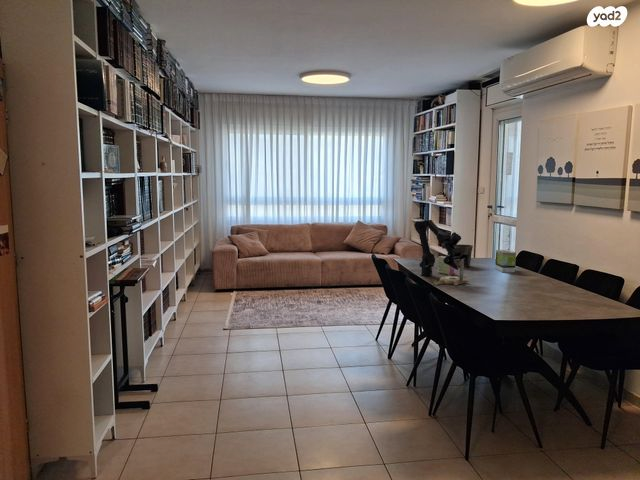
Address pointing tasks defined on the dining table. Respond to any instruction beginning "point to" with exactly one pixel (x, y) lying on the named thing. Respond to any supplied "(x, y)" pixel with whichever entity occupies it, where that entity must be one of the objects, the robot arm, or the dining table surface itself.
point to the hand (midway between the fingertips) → (463, 268)
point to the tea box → (505, 260)
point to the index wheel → (454, 279)
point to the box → (444, 266)
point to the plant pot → (468, 250)
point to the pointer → (437, 282)
